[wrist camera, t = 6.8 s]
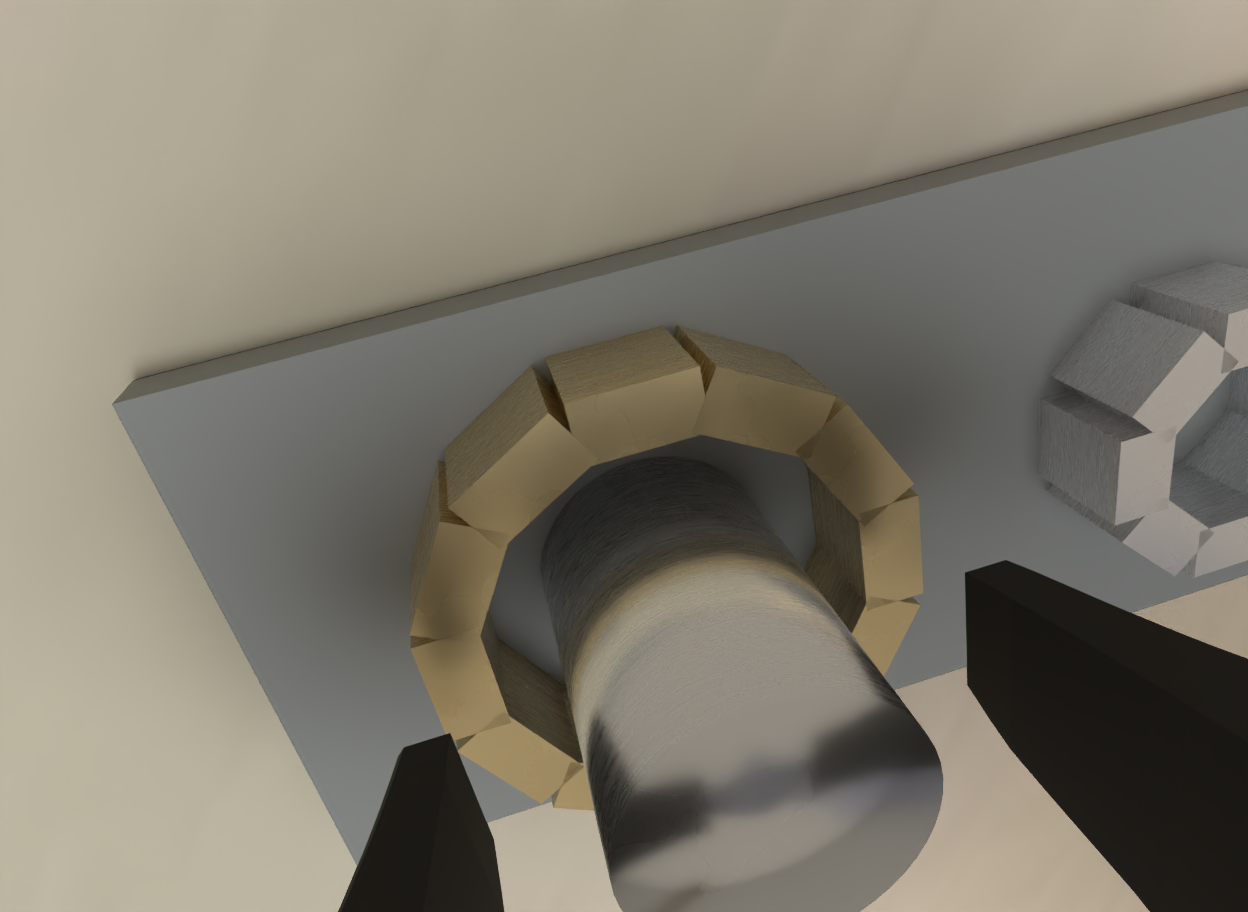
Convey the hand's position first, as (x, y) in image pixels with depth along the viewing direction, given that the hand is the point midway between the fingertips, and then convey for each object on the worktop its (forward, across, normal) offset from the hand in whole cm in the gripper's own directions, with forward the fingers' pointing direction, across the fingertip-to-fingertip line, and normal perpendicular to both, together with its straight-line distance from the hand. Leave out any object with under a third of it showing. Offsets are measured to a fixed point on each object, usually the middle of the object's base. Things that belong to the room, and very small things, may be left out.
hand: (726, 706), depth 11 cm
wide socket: (+5, 0, 0) cm, 5 cm away
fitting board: (+5, -4, 0) cm, 6 cm away
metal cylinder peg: (+4, 0, 0) cm, 4 cm away
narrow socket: (+5, -10, 0) cm, 11 cm away
